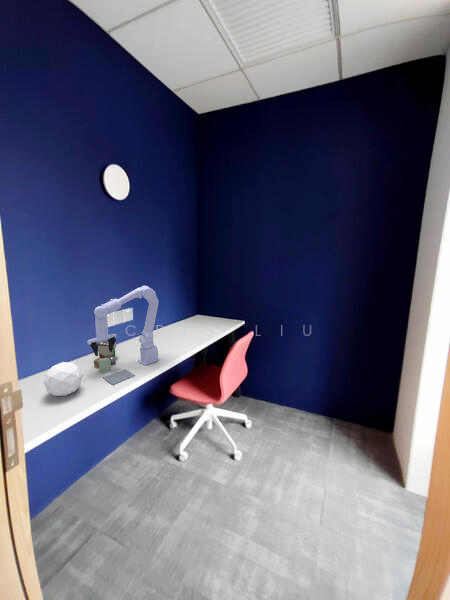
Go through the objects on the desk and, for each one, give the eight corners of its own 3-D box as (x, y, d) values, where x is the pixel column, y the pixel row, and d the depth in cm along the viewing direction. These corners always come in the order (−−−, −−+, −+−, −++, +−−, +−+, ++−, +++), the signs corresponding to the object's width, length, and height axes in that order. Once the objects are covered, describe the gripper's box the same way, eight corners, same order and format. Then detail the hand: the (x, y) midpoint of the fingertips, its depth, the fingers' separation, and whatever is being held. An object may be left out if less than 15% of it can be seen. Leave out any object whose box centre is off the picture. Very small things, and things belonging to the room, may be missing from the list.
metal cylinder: (113, 361, 147) (113, 355, 147) (117, 363, 145) (116, 357, 144) (106, 363, 144) (106, 357, 144) (110, 366, 142) (109, 359, 141)
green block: (107, 367, 140) (106, 357, 139) (111, 369, 138) (110, 359, 136) (99, 370, 137) (98, 360, 136) (103, 372, 134) (102, 362, 133)
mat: (125, 369, 138) (125, 369, 138) (135, 375, 131) (135, 375, 131) (102, 378, 129) (102, 377, 128) (112, 385, 122) (112, 384, 122)
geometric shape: (56, 405, 115) (34, 380, 113) (86, 381, 126) (66, 358, 124) (61, 403, 105) (36, 376, 103) (93, 377, 115) (71, 352, 113)
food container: (122, 357, 154) (120, 341, 151) (115, 361, 148) (113, 345, 146) (105, 354, 157) (103, 339, 155) (97, 358, 151) (96, 342, 149)
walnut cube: (100, 364, 144) (100, 357, 143) (105, 366, 142) (104, 359, 141) (94, 367, 141) (93, 360, 140) (98, 368, 139) (98, 362, 138)
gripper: (111, 324, 141) (113, 347, 143) (84, 330, 129) (86, 355, 132) (118, 327, 136) (119, 351, 139) (90, 333, 125) (92, 359, 128)
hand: (103, 353), depth 135 cm, fingers open, 7 cm apart
